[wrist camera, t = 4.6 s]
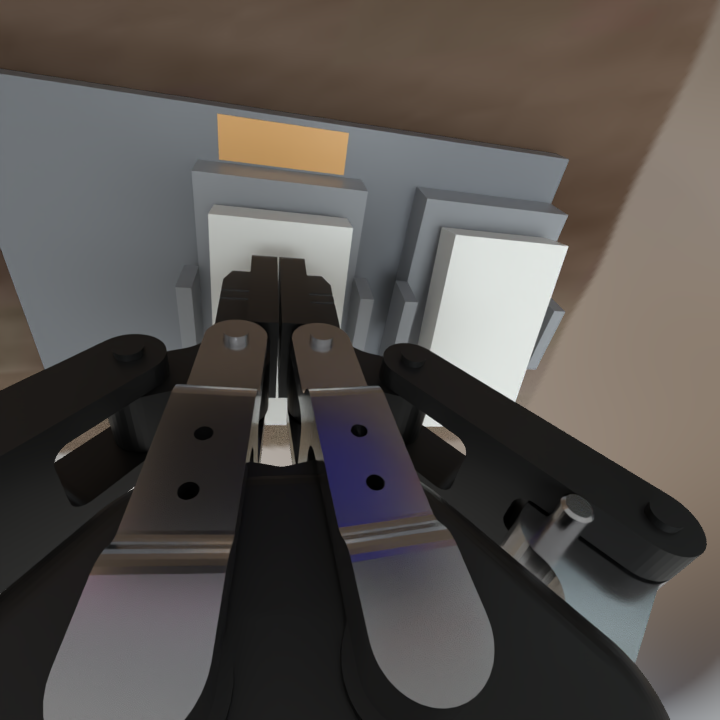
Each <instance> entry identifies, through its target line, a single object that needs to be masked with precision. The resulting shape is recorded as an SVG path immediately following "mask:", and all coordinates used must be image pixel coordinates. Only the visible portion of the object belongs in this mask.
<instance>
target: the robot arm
mask: <svg viewBox="0 0 720 720" xmlns="http://www.w3.org/2000/svg"><path fill="white" fill-rule="evenodd" d="M277 358H278V398H287V418H286V423H287V430H288V437H289V444H290V451H291V458H292V465H290V466H285V467H279V466H272V465H267V464H261V463H260V462H261V454H262V446H263V437H264V429H265V414H266V413H267V411H268V404H269V398H276V380H277ZM425 415H428V416H429V417H431V418H432V419H433V420H435V421H436V422H438V423H439V424H441V425H442V426H443V427H445V428H446V429H448V430H449V431H451V432H452V433H454V434H455V435H456V436H458V437H459V438H460V439H461V441H462V442H463V444H464V446H465V448H466V456H465V455H464V454H462V453H461V452H459V451H458V450H457V449H455V448H454V447H452V446H451V445H450V444H448V443H447V442H445V441H444V440H443V439H441V438H440V437H438V436H437V435H436V434H434V433H433V432H431V431H430V430H429V429H427V428H426V427H424V426H423V425H422V424H423V421H424V418H425ZM107 418H108V419H109V423H110V427H109V428H107V429H106V430H104V431H103V432H101V433H100V434H98V435H97V436H95V437H93V438H92V439H90V440H89V441H87V442H86V443H84V444H83V445H81V446H80V447H78V448H76V449H75V450H73V451H72V452H70V453H69V454H67V455H66V456H64V457H63V458H61V459H59V460H58V461H57V462H55V458H56V456H57V454H58V453H59V451H60V450H61V449H62V448H63V447H64V446H65V445H66V444H67V443H69V442H70V441H72V440H73V439H75V438H77V437H78V436H80V435H81V434H83V433H85V432H86V431H88V430H89V429H91V428H92V427H94V426H96V425H97V424H99V423H100V422H102V421H104V420H105V419H107ZM54 462H55V463H54ZM134 486H135V487H134ZM133 487H134V489H133V490H131V491H129V490H130V489H132V488H133ZM128 491H129V492H128ZM706 545H707V543H706V536H705V533H704V531H703V529H702V527H701V525H700V524H699V522H698V521H697V520H696V518H695V517H694V516H693V515H692V514H691V512H689V510H688V509H686V508H685V507H684V506H683V505H682V504H681V503H679V502H678V501H677V500H675V499H674V498H672V497H671V496H669V495H668V494H666V493H665V492H663V491H661V490H660V489H658V488H656V487H655V486H653V485H651V484H650V483H648V482H646V481H645V480H643V479H641V478H640V477H638V476H636V475H635V474H633V473H631V472H630V471H628V470H627V469H625V468H623V467H622V466H620V465H618V464H617V463H615V462H613V461H611V460H610V459H608V458H607V457H605V456H603V455H602V454H600V453H598V452H597V451H595V450H593V449H592V448H590V447H589V446H587V445H585V444H583V443H582V442H580V441H579V440H577V439H575V438H574V437H572V436H570V435H568V434H567V433H565V432H564V431H562V430H560V429H559V428H557V427H555V426H554V425H552V424H551V423H549V422H547V421H546V420H544V419H542V418H541V417H539V416H537V415H536V414H534V413H532V412H531V411H529V410H527V409H526V408H524V407H522V406H521V405H519V404H518V403H516V402H514V401H513V400H511V399H509V398H508V397H506V396H504V395H503V394H501V393H499V392H498V391H496V390H494V389H493V388H491V387H489V386H488V385H486V384H484V383H483V382H481V381H480V380H478V379H476V378H475V377H473V376H471V375H470V374H468V373H466V372H465V371H463V370H461V369H460V368H458V367H456V366H455V365H453V364H451V363H450V362H448V361H446V360H445V359H443V358H442V357H440V356H438V355H437V354H435V353H433V352H432V351H430V350H428V349H426V348H424V347H422V346H419V345H416V344H411V343H398V344H394V345H391V346H389V347H388V348H387V349H386V350H385V351H384V354H383V356H380V355H375V354H371V353H367V352H364V351H361V350H359V349H357V348H355V347H353V346H352V343H351V340H350V338H349V336H348V335H347V333H345V332H344V331H343V330H342V329H340V325H339V321H338V316H337V312H336V307H335V305H334V298H333V294H332V289H331V285H330V284H329V283H328V282H327V281H326V280H325V279H324V278H323V277H322V276H311V275H307V273H306V266H305V259H302V258H289V257H279V275H278V262H277V257H274V256H260V255H252V259H251V271H250V272H247V271H231V272H230V273H229V274H228V275H227V276H226V277H225V278H223V282H222V288H221V293H220V299H219V304H218V309H217V315H216V320H215V324H214V325H212V326H211V327H209V328H208V329H207V330H206V332H205V334H204V336H203V339H202V342H201V343H199V344H197V345H194V346H191V347H187V348H183V349H177V350H171V351H167V349H166V346H165V344H164V343H163V342H162V341H161V340H159V339H158V338H155V337H153V336H149V335H144V334H127V335H121V336H117V337H113V338H110V339H108V340H106V341H103V342H101V343H99V344H97V345H95V346H93V347H91V348H89V349H87V350H85V351H83V352H80V353H78V354H76V355H74V356H72V357H70V358H68V359H66V360H64V361H62V362H60V363H57V364H55V365H53V366H51V367H49V368H47V369H45V370H43V371H41V372H39V373H36V374H34V375H32V376H30V377H28V378H26V379H24V380H22V381H20V382H18V383H16V384H13V385H11V386H9V387H7V388H5V389H3V390H1V391H0V593H1V594H0V720H670V718H669V716H668V714H667V712H666V710H665V708H664V706H663V704H662V702H661V700H660V699H659V697H658V695H657V694H656V692H655V691H654V689H653V688H652V686H651V684H650V683H649V681H648V680H647V678H646V677H645V676H644V675H643V673H642V672H641V671H640V669H639V668H638V667H637V665H636V664H635V662H636V659H637V656H638V652H639V649H640V646H641V642H642V639H643V635H644V632H645V629H646V626H647V622H648V619H649V616H650V612H651V609H652V606H653V602H654V599H655V596H656V592H657V590H658V589H659V588H660V587H662V586H663V585H664V584H665V583H667V582H668V581H669V580H670V579H671V578H673V577H674V576H675V575H676V574H677V573H679V572H680V571H681V570H682V569H684V568H685V567H686V566H687V565H689V564H690V563H691V562H692V561H693V560H695V559H696V558H697V557H698V556H699V555H701V554H702V553H703V552H704V551H705V549H706ZM5 589H6V590H5Z"/></svg>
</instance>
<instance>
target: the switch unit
mask: <svg viewBox="0 0 720 720" xmlns="http://www.w3.org/2000/svg"><path fill="white" fill-rule="evenodd" d="M568 161H569V159H567V158H565V157H563V156H560V155H558V154H555V153H549V152H542V151H536V150H529V149H523V148H516V147H510V146H503V145H497V144H490V143H484V142H477V141H471V140H464V139H457V138H451V137H444V136H438V135H431V134H425V133H418V132H412V131H405V130H399V129H392V128H386V127H379V126H372V125H366V124H359V123H353V122H346V121H340V120H333V119H327V118H320V117H314V116H307V115H301V114H294V113H288V112H281V111H274V110H268V109H261V108H255V107H248V106H242V105H235V104H229V103H222V102H216V101H209V100H203V99H196V98H189V97H183V96H176V95H170V94H163V93H157V92H150V91H144V90H137V89H131V88H124V87H118V86H111V85H104V84H98V83H91V82H85V81H78V80H72V79H65V78H59V77H52V76H46V75H39V74H33V73H26V72H20V71H13V70H6V69H0V248H1V251H2V253H3V256H4V259H5V262H6V264H7V267H8V270H9V273H10V275H11V278H12V281H13V284H14V286H15V289H16V292H17V295H18V297H19V300H20V303H21V305H22V308H23V311H24V314H25V316H26V319H27V322H28V325H29V327H30V330H31V333H32V336H33V338H34V341H35V344H36V347H37V349H38V352H39V355H40V358H41V360H42V363H43V366H44V369H47V368H49V367H51V366H53V365H55V364H57V363H60V362H62V361H64V360H66V359H68V358H70V357H72V356H74V355H76V354H78V353H80V352H83V351H85V350H87V349H89V348H91V347H93V346H95V345H97V344H99V343H101V342H103V341H106V340H108V339H110V338H113V337H117V336H121V335H127V334H144V335H149V336H153V337H155V338H158V339H159V340H161V341H162V342H163V343H164V344H165V346H166V349H167V351H171V350H177V349H183V348H187V347H191V346H194V345H197V344H199V343H201V342H202V339H203V336H204V334H205V332H206V330H207V329H208V328H209V327H211V326H212V300H211V276H210V251H209V226H208V213H209V211H210V210H211V208H212V207H213V205H214V204H215V205H224V206H234V207H244V208H253V209H263V210H273V211H282V212H292V213H301V214H311V215H321V216H330V217H340V218H347V219H348V221H349V222H350V224H351V226H352V227H353V233H352V241H351V249H350V257H349V265H348V273H347V281H346V289H345V297H344V305H343V313H342V321H341V329H342V330H343V331H344V332H345V333H347V335H348V336H349V338H350V340H351V343H352V346H353V347H355V348H357V349H359V350H361V351H364V352H367V353H371V354H375V355H380V356H383V354H384V351H385V350H386V349H387V348H388V347H389V346H391V345H394V344H398V343H411V344H416V345H418V340H419V335H420V331H421V326H422V321H423V316H424V311H425V306H426V301H427V297H428V292H429V287H430V282H431V277H432V272H433V267H434V263H435V258H436V253H437V248H438V243H439V238H440V233H441V229H442V227H447V228H456V229H466V230H475V231H485V232H494V233H504V234H514V235H523V236H533V237H542V238H548V239H551V240H554V241H556V242H557V239H558V237H559V235H560V233H561V230H562V228H563V226H564V224H565V221H566V219H567V217H568V215H567V214H565V213H564V212H562V211H561V210H559V209H558V208H556V207H555V206H553V205H551V202H552V200H553V197H554V195H555V193H556V190H557V188H558V185H559V183H560V181H561V178H562V176H563V173H564V171H565V169H566V166H567V164H568ZM564 313H565V311H564V310H563V309H562V308H561V307H560V306H559V305H558V304H557V303H556V302H555V301H554V300H553V299H552V298H551V299H550V302H549V305H548V308H547V310H546V313H545V316H544V319H543V322H542V325H541V328H540V331H539V334H538V337H537V340H536V343H535V346H534V348H533V351H532V354H531V357H530V360H529V363H528V366H527V369H536V368H537V366H538V364H539V362H540V360H541V358H542V356H543V354H544V352H545V350H546V348H547V346H548V345H549V343H550V341H551V339H552V337H553V335H554V333H555V331H556V329H557V327H558V325H559V323H560V321H561V319H562V317H563V315H564Z"/></svg>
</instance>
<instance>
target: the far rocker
mask: <svg viewBox="0 0 720 720" xmlns="http://www.w3.org/2000/svg"><path fill="white" fill-rule="evenodd" d="M567 249H568V246H567V245H564V244H561V243H559V242H556V241H554V240H551V239H548V238H542V237H533V236H523V235H514V234H504V233H494V232H485V231H475V230H466V229H456V228H447V227H442V229H441V233H440V238H439V243H438V248H437V253H436V258H435V263H434V267H433V272H432V277H431V282H430V287H429V292H428V297H427V301H426V306H425V311H424V316H423V321H422V326H421V331H420V335H419V340H418V345H419V346H422V347H424V348H426V349H428V350H430V351H432V352H433V353H435V354H437V355H438V356H440V357H442V358H443V359H445V360H446V361H448V362H450V363H451V364H453V365H455V366H456V367H458V368H460V369H461V370H463V371H465V372H466V373H468V374H470V375H471V376H473V377H475V378H476V379H478V380H480V381H481V382H483V383H484V384H486V385H488V386H489V387H491V388H493V389H494V390H496V391H498V392H499V393H501V394H503V395H504V396H506V397H508V398H509V399H511V400H513V401H514V402H515V401H516V398H517V395H518V392H519V389H520V386H521V384H522V381H523V378H524V375H525V372H526V369H527V366H528V363H529V360H530V357H531V354H532V351H533V348H534V346H535V343H536V340H537V337H538V334H539V331H540V328H541V325H542V322H543V319H544V316H545V313H546V310H547V308H548V305H549V302H550V299H551V296H552V293H553V290H554V287H555V284H556V281H557V278H558V275H559V272H560V270H561V267H562V264H563V261H564V258H565V255H566V252H567ZM422 425H423V426H442V425H441V424H439V423H438V422H436V421H435V420H433V419H432V418H431V417H429V416H428V415H425V418H424V421H423V424H422Z"/></svg>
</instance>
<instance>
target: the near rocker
mask: <svg viewBox="0 0 720 720" xmlns="http://www.w3.org/2000/svg"><path fill="white" fill-rule="evenodd" d="M208 226H209V251H210V276H211V300H212V325H214V324H215V320H216V315H217V309H218V304H219V299H220V293H221V288H222V282H223V278H225V277H226V276H227V275H228V274H229V273H230V272H231V271H247V272H250V271H251V259H252V255H260V256H274V257H277V262H278V275H279V257H289V258H302V259H305V266H306V273H307V275H311V276H322V277H323V278H324V279H325V280H326V281H327V282H328V283H329V284H330V285H331V289H332V294H333V298H334V305H335V307H336V312H337V316H338V321H339V325H340V329H341V321H342V313H343V305H344V297H345V289H346V281H347V273H348V265H349V257H350V249H351V241H352V233H353V227H352V226H351V224H350V222H349V221H348V219H347V218H340V217H330V216H321V215H311V214H301V213H292V212H282V211H273V210H263V209H253V208H244V207H234V206H224V205H215V204H214V205H213V207H212V208H211V210H210V211H209V213H208ZM286 418H287V398H278V358H277V380H276V398H269V404H268V411H267V413H266V414H265V425H287V423H286Z"/></svg>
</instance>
